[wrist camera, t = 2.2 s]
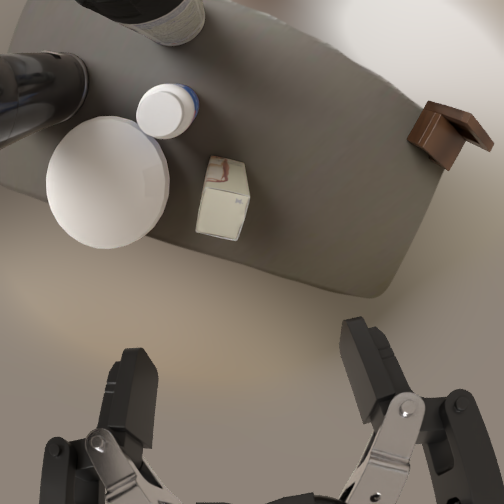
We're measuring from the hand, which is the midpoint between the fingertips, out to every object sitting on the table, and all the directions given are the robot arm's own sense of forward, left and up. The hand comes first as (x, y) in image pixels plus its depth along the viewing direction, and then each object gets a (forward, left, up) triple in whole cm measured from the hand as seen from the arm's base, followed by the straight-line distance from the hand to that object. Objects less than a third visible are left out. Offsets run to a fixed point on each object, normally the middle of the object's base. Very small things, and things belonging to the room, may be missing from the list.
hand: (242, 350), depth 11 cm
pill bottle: (-5, +7, -27) cm, 29 cm away
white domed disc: (-14, +1, -20) cm, 24 cm away
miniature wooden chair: (+29, +3, -27) cm, 40 cm away
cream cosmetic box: (-1, -3, -28) cm, 28 cm away
